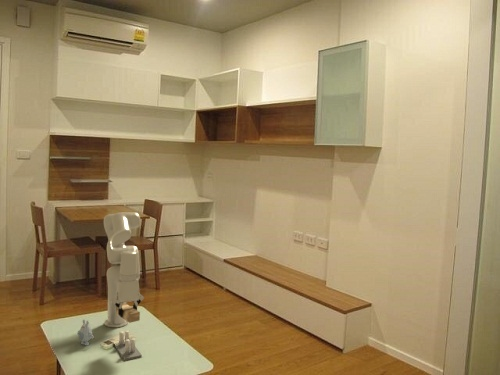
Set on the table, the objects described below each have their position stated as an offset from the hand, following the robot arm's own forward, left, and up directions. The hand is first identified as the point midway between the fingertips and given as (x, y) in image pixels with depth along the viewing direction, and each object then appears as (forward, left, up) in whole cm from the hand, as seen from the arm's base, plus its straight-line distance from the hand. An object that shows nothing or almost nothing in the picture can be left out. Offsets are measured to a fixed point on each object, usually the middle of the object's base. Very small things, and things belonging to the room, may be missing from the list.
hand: (127, 314), depth 206 cm
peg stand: (0, 0, -17) cm, 17 cm away
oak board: (0, 0, -1) cm, 1 cm away
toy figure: (-15, -16, -17) cm, 28 cm away
